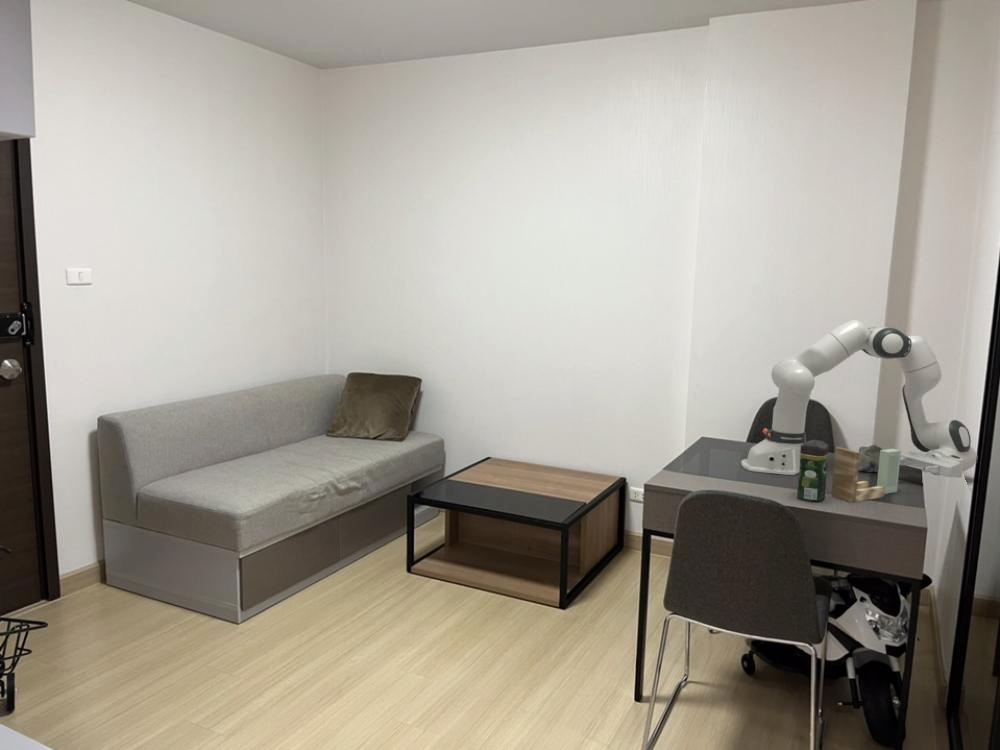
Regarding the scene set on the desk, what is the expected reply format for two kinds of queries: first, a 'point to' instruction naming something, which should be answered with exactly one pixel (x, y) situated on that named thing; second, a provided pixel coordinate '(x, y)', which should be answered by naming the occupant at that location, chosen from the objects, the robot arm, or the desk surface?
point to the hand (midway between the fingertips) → (911, 466)
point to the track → (851, 478)
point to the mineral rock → (869, 458)
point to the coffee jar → (812, 470)
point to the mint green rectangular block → (889, 470)
